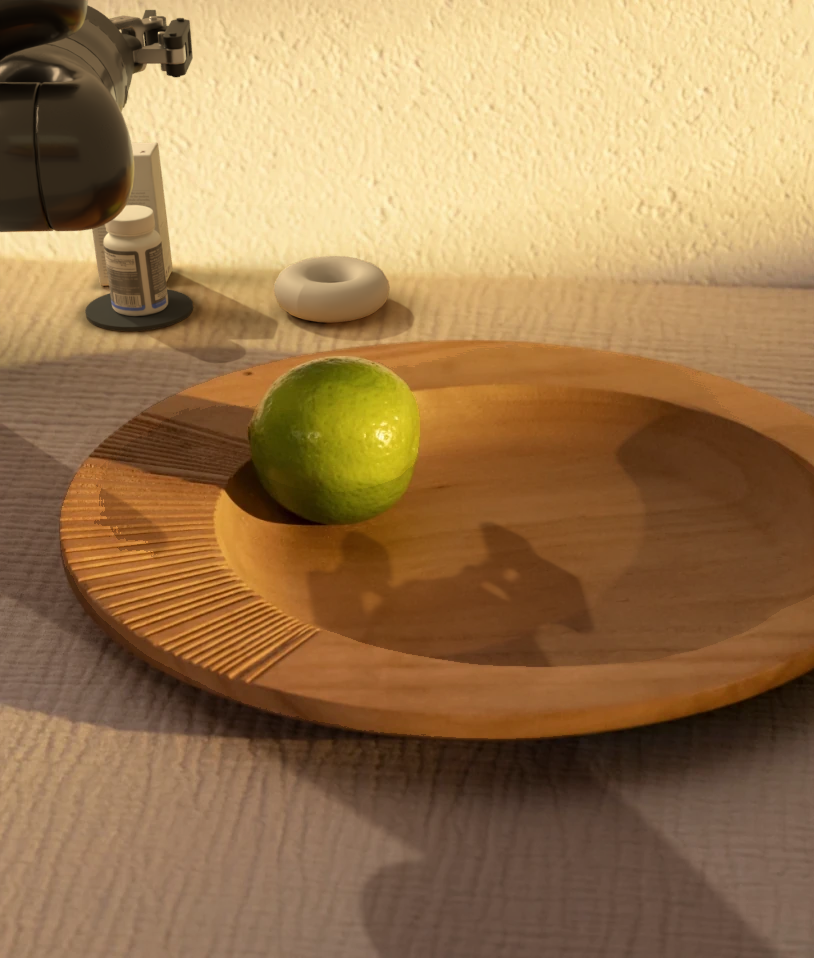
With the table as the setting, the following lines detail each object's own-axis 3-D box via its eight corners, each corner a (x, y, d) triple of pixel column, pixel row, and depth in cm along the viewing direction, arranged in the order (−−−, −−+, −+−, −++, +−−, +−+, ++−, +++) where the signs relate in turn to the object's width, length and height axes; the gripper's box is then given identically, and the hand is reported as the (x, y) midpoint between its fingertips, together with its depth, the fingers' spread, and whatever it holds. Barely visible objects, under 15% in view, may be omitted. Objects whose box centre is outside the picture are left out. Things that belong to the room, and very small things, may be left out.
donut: (402, 292, 119) (295, 281, 120) (402, 256, 117) (294, 244, 119) (371, 335, 110) (257, 322, 112) (371, 296, 109) (255, 283, 110)
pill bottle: (155, 293, 116) (145, 200, 112) (177, 310, 113) (167, 214, 109) (103, 303, 114) (91, 209, 110) (124, 321, 111) (112, 224, 107)
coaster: (63, 319, 112) (62, 314, 112) (132, 285, 119) (131, 281, 119) (148, 339, 109) (148, 334, 108) (214, 303, 116) (213, 298, 115)
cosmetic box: (173, 270, 123) (160, 141, 117) (166, 286, 119) (151, 154, 113) (107, 269, 122) (90, 141, 116) (97, 286, 119) (80, 154, 113)
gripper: (179, 12, 77) (189, -32, 91) (-78, 13, 75) (-27, -32, 89) (190, 140, 81) (198, 79, 95) (-54, 145, 79) (-9, 81, 93)
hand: (89, 25), depth 92 cm, fingers open, 8 cm apart
